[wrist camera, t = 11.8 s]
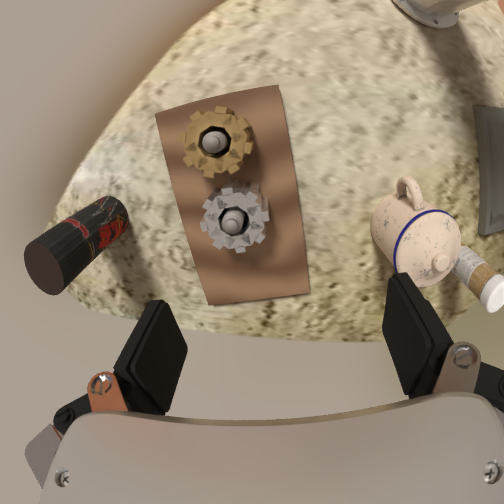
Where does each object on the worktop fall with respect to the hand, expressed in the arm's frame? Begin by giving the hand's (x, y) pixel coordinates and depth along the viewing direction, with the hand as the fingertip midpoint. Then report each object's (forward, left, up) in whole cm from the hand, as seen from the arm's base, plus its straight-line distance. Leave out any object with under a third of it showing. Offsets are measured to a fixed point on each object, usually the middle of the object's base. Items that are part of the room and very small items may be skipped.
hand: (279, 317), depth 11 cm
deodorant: (-1, -22, -23) cm, 32 cm away
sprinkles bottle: (+12, +26, -23) cm, 37 cm away
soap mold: (0, +36, -24) cm, 43 cm away
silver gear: (+1, -4, -22) cm, 22 cm away
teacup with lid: (+5, +16, -23) cm, 29 cm away
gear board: (+1, -4, -23) cm, 23 cm away
